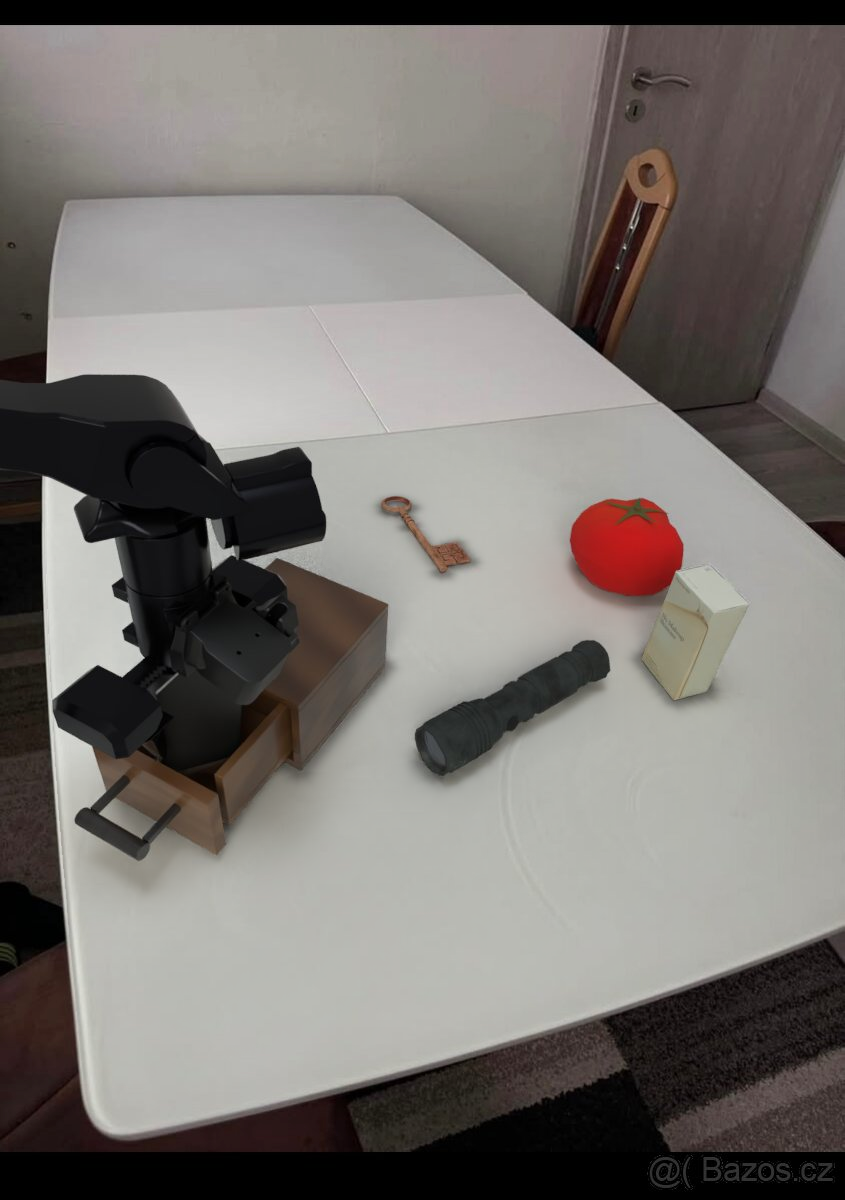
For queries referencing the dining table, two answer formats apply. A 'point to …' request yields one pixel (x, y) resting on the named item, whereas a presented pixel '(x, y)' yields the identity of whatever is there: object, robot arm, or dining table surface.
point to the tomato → (627, 546)
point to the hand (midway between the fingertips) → (193, 722)
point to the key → (430, 549)
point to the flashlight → (507, 708)
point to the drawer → (192, 785)
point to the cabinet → (326, 656)
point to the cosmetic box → (694, 630)
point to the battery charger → (198, 722)
